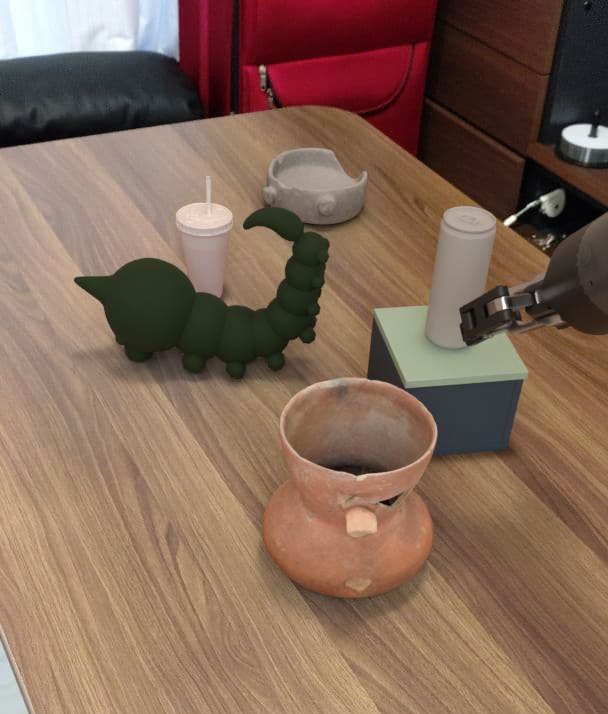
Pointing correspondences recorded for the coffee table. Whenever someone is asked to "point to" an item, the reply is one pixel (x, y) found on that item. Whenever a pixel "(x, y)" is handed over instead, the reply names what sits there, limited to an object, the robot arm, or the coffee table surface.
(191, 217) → the smoothie
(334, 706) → the coffee table surface
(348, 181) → the dish
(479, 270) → the beverage can
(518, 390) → the box
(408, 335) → the lid
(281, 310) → the toy figurine
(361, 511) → the ceramic jug
